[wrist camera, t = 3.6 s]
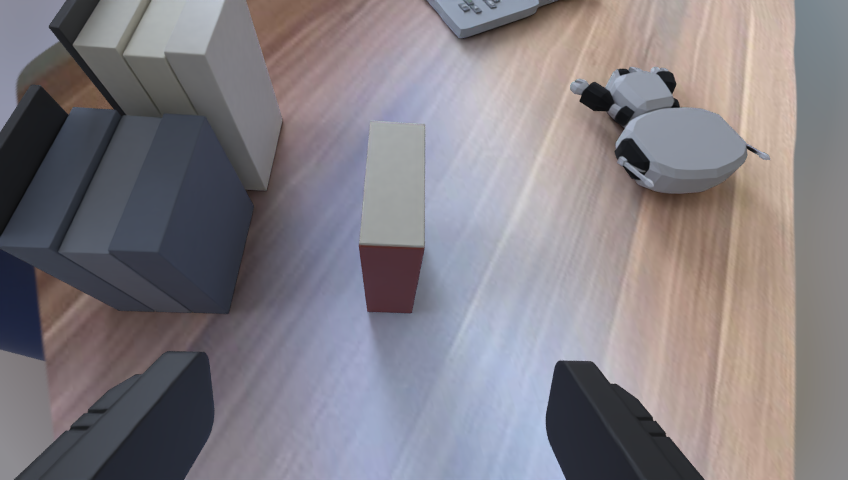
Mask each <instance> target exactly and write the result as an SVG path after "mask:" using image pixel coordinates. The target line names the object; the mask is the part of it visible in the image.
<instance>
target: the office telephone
mask: <svg viewBox="0 0 848 480" xmlns="http://www.w3.org/2000/svg"><path fill="white" fill-rule="evenodd" d="M427 1H428V2H429V3H430V5H431V6H432V7H433V8H434V9H435V10H436V11H437V12H438V14H439V15H440V16H441V18H442V19H443V21H444V22H445V23H446V24H447V25H448V26H449V27H450V28H451V30H452V31H453V32H454V33H455V34H456V35H457V36H458V37H459V38H465V37H469V36H472V35H475V34H478V33H481V32H484V31H487V30H490V29H493V28H496V27H499V26H502V25H504V24H507V23H510V22H513V21H516V20H519V19H522V18H525V17H528V16H530V15H533V14H534V13H536V11H537V8H538V7H540V6H543V5H546V4H549V3H552V2H555V1H557V0H427Z"/></svg>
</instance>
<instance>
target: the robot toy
mask: <svg viewBox="0 0 848 480" xmlns="http://www.w3.org/2000/svg"><path fill="white" fill-rule="evenodd" d="M675 87H676V82H675V78H674V75H673V73H671V72H669V71H668V70H667V69H666V68H660V70H659V68H658V67H653V68H652V69H651V73H650V72H647V71H642V70H641V69H639V68H635V67H630V68H629V70H627V69H617V70H616V71H614V72H613V74H612V75H611V77H610V79H609V81H608V83H607V85H606V87H605V88H604V87H602V86H601V85H599V84H598V83H596V82H593V83H591V84H590V85H589V84H588V83H587V81H585V80H582V79H577V80H575V82H572V83H571V85H570V90H571V91H572V92H573V93H574V94H578V95H582V96H581V99H580V102H581V103H583V104H584V105H586V106H587V107H589V108H590V109H592V110H593V111H606V112H607V113H608V114H609V115H610V116H611V117H612V118H613V119H614V121H616V122H617V123H619V124H620V125H621V126H623V127H624V128H625V129H624V131H623V132H622V134H621V135H620V137H619V138H618V140H617V142H616V143H615V144H616V150H615V155H616V158H617V159H618V162H617V163H619V164H620V165H621V166H623V167H624V169H625V170H626V171H627V173H628V174H629V176H630V177H631V178H632V179H634V180H635V181H636V182H637V184H638V185H641V186H643V187H646V188H648V189H651V190H653V191H656V192H662V193H678V194H681V193H693V192H703V191H705V190H707V189H710V188H712V187H714V186H716V185H718V184H720V183H722V182H723V181H725V180H726V179H727V178H728V177H729V176H730V175H731V174H733V173H734V172H735V171H736V170H737V169H738V168H739V167H740V166H741V165H742V164H743V163H744V162H745V160H746V158H747V149H748V150H750V151H752V152H753V153H755V154H757V155H759V157H760V158H762V159H764V160H770V157H769V155H768V154H766V153H764V152H763V153H762V152H761V151H759V150H757V149H755V148H754V147H752V146H750V145H749V144H747V143H746V142H745V141H744V140H743V139H742V138H741V137H740V136H739V135H738V134H737V133H736V132H735V131H734V130H733V129H732V128H731V127H730V126H729V124H728V123H727V122H726V121H725V120H724V119H723V118H722V117H721V116H720V115H719V114H716V113H713V112H710V111H707V110H704V109H700V108H687V107H683V108H680V106H679V102H678V100H677V99H675V98H673V96H672V94H673V92H674V89H675Z"/></svg>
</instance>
